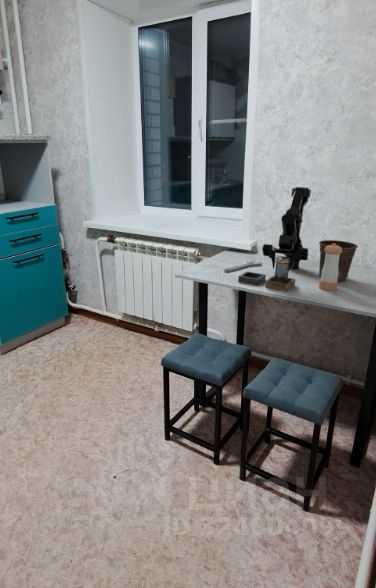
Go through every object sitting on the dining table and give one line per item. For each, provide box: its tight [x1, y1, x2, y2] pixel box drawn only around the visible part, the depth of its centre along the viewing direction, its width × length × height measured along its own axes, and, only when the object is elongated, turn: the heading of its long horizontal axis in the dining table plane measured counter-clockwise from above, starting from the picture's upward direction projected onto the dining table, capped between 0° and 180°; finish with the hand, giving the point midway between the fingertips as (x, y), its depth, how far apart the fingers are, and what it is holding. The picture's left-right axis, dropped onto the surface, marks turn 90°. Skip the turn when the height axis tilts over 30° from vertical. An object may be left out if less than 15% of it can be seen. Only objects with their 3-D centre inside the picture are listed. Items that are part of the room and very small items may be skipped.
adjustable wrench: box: [223, 260, 263, 273], centre depth 197 cm, size 25×6×2 cm, turn 127°
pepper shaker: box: [318, 244, 342, 292], centre depth 166 cm, size 7×7×19 cm
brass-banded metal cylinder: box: [274, 255, 290, 284], centre depth 168 cm, size 6×6×12 cm
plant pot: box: [318, 239, 359, 283], centre depth 180 cm, size 16×16×16 cm
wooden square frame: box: [264, 274, 296, 292], centre depth 169 cm, size 10×10×3 cm
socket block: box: [238, 271, 267, 286], centre depth 176 cm, size 9×9×2 cm
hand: (281, 269), depth 166 cm, fingers open, 6 cm apart
